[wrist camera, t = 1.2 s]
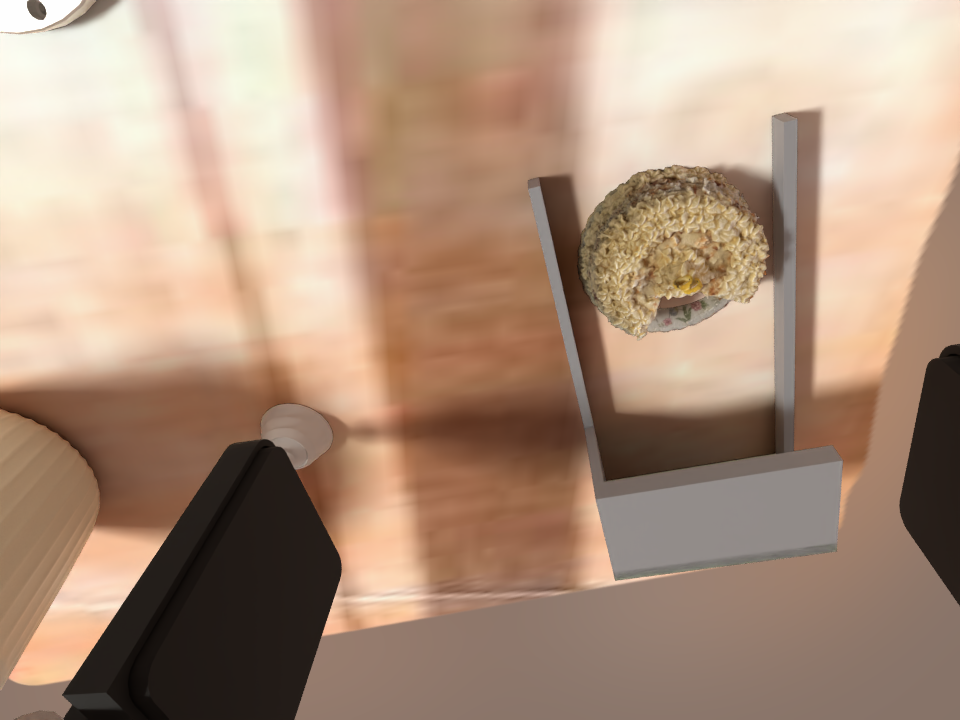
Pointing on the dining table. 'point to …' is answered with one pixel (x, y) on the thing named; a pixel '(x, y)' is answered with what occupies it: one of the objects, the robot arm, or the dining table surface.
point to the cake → (670, 249)
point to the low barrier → (726, 485)
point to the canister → (37, 526)
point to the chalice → (297, 432)
